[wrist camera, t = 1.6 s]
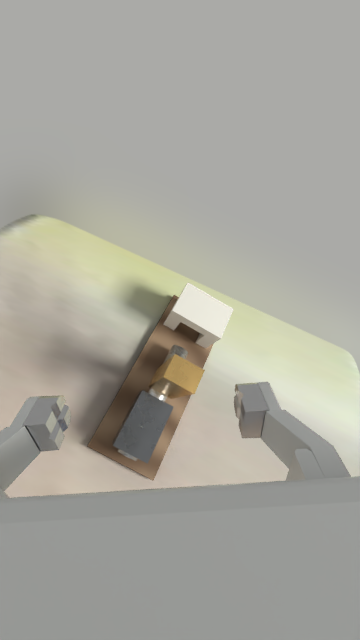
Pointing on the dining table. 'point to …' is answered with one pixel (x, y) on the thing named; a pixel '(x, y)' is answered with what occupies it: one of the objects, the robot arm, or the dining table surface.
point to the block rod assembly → (173, 379)
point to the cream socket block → (200, 315)
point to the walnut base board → (139, 381)
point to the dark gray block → (142, 426)
